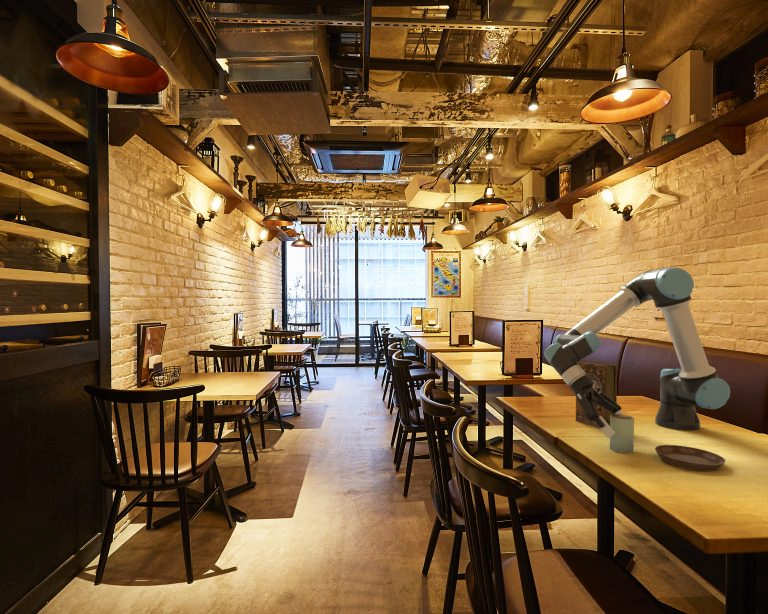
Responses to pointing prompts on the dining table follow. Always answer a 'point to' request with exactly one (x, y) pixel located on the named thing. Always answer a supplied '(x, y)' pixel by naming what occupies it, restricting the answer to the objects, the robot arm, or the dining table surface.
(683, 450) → the plant saucer
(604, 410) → the book
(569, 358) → the robot arm
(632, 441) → the pale green cup
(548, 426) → the dining table surface
